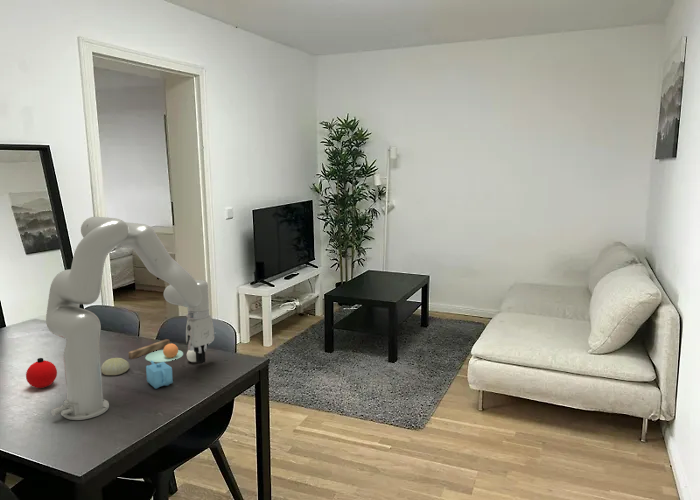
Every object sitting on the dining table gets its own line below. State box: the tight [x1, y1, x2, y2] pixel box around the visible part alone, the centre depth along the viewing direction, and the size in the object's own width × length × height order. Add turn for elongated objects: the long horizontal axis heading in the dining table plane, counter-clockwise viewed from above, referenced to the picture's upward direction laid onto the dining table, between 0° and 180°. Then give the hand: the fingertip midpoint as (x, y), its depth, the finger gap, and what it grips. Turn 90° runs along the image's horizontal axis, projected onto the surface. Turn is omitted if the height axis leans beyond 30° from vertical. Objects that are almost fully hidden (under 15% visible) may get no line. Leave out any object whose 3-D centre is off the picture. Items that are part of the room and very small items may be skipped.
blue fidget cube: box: [145, 361, 174, 390], centre depth 180 cm, size 12×6×8 cm, turn 41°
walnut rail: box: [127, 338, 171, 360], centre depth 211 cm, size 18×2×2 cm, turn 149°
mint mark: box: [144, 349, 184, 363], centre depth 207 cm, size 14×14×1 cm
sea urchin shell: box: [100, 357, 130, 376], centre depth 190 cm, size 9×8×8 cm
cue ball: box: [186, 349, 197, 363], centre depth 200 cm, size 6×6×6 cm
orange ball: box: [162, 343, 179, 358], centre depth 204 cm, size 6×6×6 cm
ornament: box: [25, 357, 58, 389], centre depth 177 cm, size 9×9×10 cm
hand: (200, 361), depth 196 cm, fingers closed
